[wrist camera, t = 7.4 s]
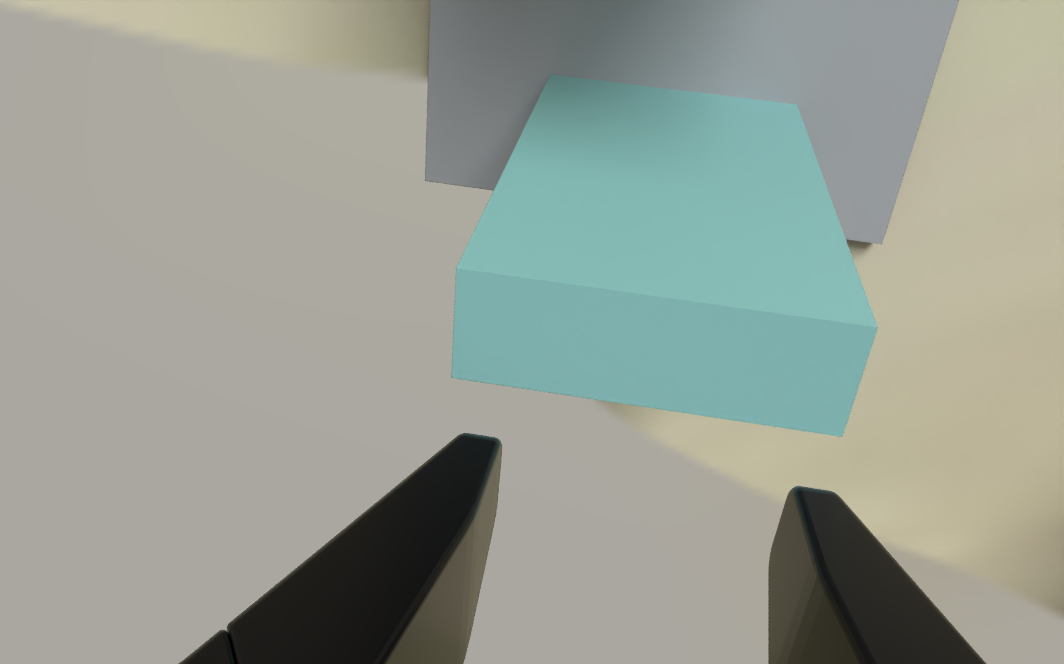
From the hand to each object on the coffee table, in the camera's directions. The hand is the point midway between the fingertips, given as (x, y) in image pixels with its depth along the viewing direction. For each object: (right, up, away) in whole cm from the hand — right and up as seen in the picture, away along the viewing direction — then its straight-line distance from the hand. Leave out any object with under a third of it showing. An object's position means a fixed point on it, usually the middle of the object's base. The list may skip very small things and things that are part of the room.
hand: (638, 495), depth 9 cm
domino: (+2, +6, +10) cm, 12 cm away
